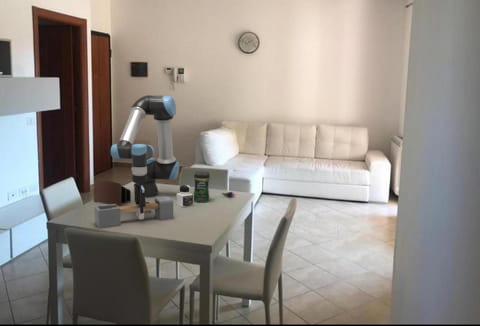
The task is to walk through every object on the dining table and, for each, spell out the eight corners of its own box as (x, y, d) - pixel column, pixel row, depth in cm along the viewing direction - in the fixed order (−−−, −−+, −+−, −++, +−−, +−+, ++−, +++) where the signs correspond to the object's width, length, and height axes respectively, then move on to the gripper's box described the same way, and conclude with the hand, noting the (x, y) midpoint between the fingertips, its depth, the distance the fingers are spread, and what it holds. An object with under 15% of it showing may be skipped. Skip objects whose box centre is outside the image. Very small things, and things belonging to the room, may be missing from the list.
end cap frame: (95, 223, 235) (94, 203, 234) (167, 214, 254) (167, 196, 252) (98, 228, 228) (98, 208, 226) (173, 218, 246) (173, 200, 244)
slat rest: (107, 215, 249) (107, 206, 248) (148, 210, 260) (148, 201, 259) (109, 217, 245) (109, 208, 244) (151, 212, 256) (151, 204, 255)
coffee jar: (192, 202, 279) (193, 172, 275) (194, 199, 286) (194, 170, 283) (208, 203, 278) (209, 173, 275) (209, 199, 286) (210, 170, 283)
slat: (112, 212, 236) (111, 207, 236) (164, 206, 250) (164, 201, 249) (114, 214, 233) (113, 209, 232) (166, 208, 246) (166, 203, 246)
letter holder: (120, 206, 267) (120, 182, 264) (93, 202, 274) (92, 179, 272) (131, 202, 276) (130, 179, 273) (104, 198, 283) (103, 176, 281)
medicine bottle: (182, 207, 267) (183, 187, 265) (176, 205, 272) (176, 185, 270) (193, 205, 272) (193, 186, 269) (186, 203, 277) (186, 183, 275)
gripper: (127, 171, 243) (128, 214, 247) (137, 178, 228) (137, 223, 233) (141, 170, 247) (142, 212, 251) (151, 177, 232) (152, 221, 236)
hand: (140, 217), depth 242 cm, fingers closed on slat, 4 cm apart
